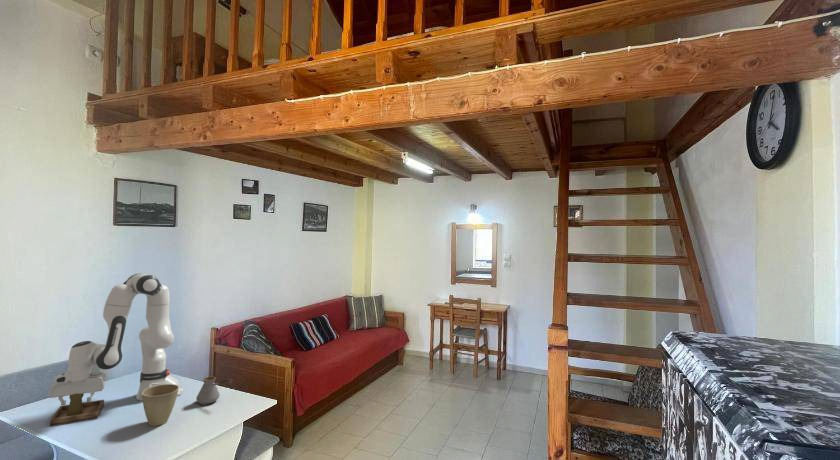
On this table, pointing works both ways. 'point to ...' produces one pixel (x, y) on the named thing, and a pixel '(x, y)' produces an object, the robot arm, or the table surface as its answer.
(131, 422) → the table surface
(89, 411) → the walnut tray
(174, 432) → the table surface
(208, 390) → the coffee pot
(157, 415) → the plant pot
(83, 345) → the robot arm
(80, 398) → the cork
